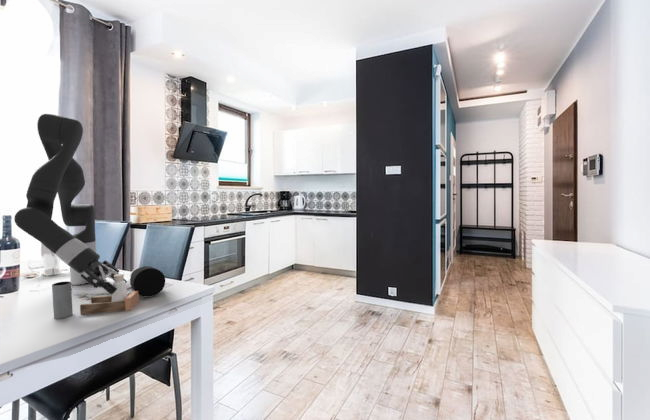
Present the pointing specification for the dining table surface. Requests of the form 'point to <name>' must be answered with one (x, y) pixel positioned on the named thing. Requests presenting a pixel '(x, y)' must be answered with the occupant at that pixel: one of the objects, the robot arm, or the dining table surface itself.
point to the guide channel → (109, 304)
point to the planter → (62, 299)
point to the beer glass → (50, 261)
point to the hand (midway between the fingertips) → (119, 287)
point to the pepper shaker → (119, 288)
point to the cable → (147, 281)
